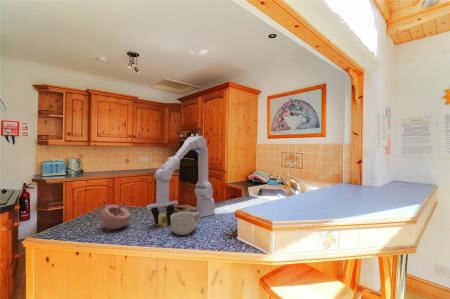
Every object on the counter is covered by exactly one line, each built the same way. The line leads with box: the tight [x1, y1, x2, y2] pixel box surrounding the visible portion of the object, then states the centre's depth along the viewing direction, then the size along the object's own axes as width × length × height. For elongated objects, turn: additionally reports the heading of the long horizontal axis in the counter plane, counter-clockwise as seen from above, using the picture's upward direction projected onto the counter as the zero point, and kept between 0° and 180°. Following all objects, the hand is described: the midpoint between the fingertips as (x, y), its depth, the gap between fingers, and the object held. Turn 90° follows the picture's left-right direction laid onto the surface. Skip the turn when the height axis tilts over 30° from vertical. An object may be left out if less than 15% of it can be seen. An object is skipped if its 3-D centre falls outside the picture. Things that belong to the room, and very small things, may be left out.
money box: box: [172, 203, 197, 221], centre depth 105 cm, size 9×10×6 cm
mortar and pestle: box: [100, 202, 132, 230], centre depth 94 cm, size 12×12×12 cm
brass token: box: [157, 213, 168, 229], centre depth 98 cm, size 2×5×5 cm, turn 40°
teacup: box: [170, 211, 202, 236], centre depth 91 cm, size 14×11×8 cm
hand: (162, 222), depth 98 cm, fingers open, 5 cm apart
